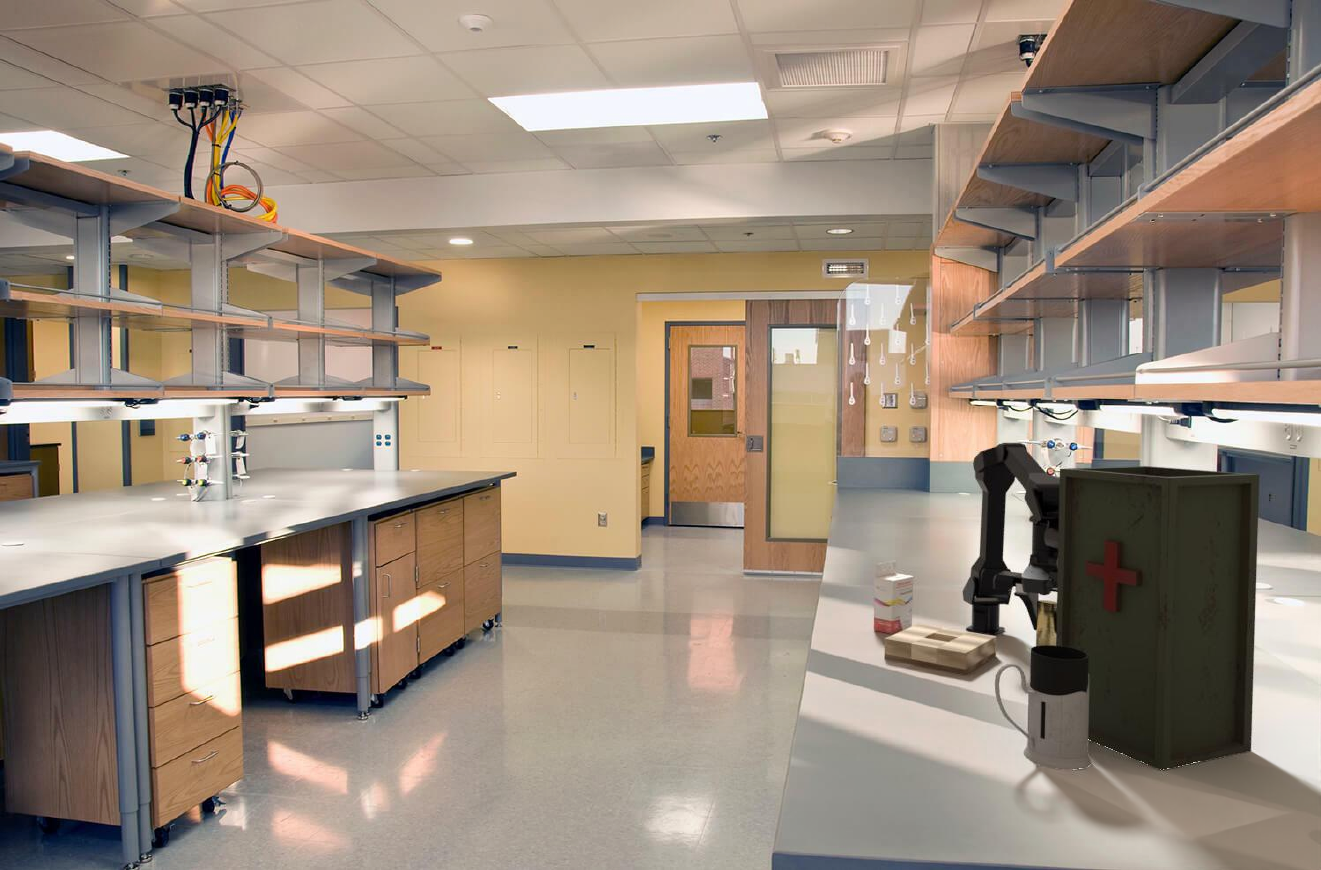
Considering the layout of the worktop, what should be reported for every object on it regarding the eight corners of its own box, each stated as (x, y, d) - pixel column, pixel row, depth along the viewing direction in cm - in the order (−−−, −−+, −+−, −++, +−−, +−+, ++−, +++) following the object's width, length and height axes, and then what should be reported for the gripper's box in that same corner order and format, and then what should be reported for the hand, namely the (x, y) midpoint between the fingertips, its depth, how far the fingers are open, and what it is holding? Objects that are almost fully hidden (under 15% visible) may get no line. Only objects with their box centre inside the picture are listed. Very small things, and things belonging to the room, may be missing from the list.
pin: (1039, 646, 173) (1040, 599, 173) (1059, 649, 171) (1060, 602, 171) (1033, 650, 171) (1034, 602, 170) (1053, 653, 168) (1054, 605, 168)
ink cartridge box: (892, 634, 196) (894, 566, 195) (872, 630, 199) (873, 563, 199) (913, 627, 202) (914, 562, 201) (893, 623, 205) (894, 559, 205)
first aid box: (1054, 726, 141) (1059, 468, 139) (1138, 710, 148) (1144, 465, 146) (1161, 770, 124) (1169, 478, 122) (1251, 751, 131) (1259, 474, 129)
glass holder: (1105, 767, 125) (1108, 659, 124) (1012, 775, 122) (1015, 664, 121) (1064, 743, 133) (1066, 642, 133) (977, 750, 130) (978, 647, 130)
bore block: (918, 642, 189) (919, 623, 189) (995, 656, 179) (996, 636, 179) (884, 658, 177) (884, 638, 177) (965, 674, 167) (965, 653, 167)
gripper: (983, 548, 170) (981, 631, 171) (1090, 560, 158) (1087, 649, 159) (1003, 542, 179) (1002, 620, 179) (1106, 552, 167) (1104, 636, 167)
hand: (1046, 631), depth 171 cm, fingers closed on pin, 4 cm apart
